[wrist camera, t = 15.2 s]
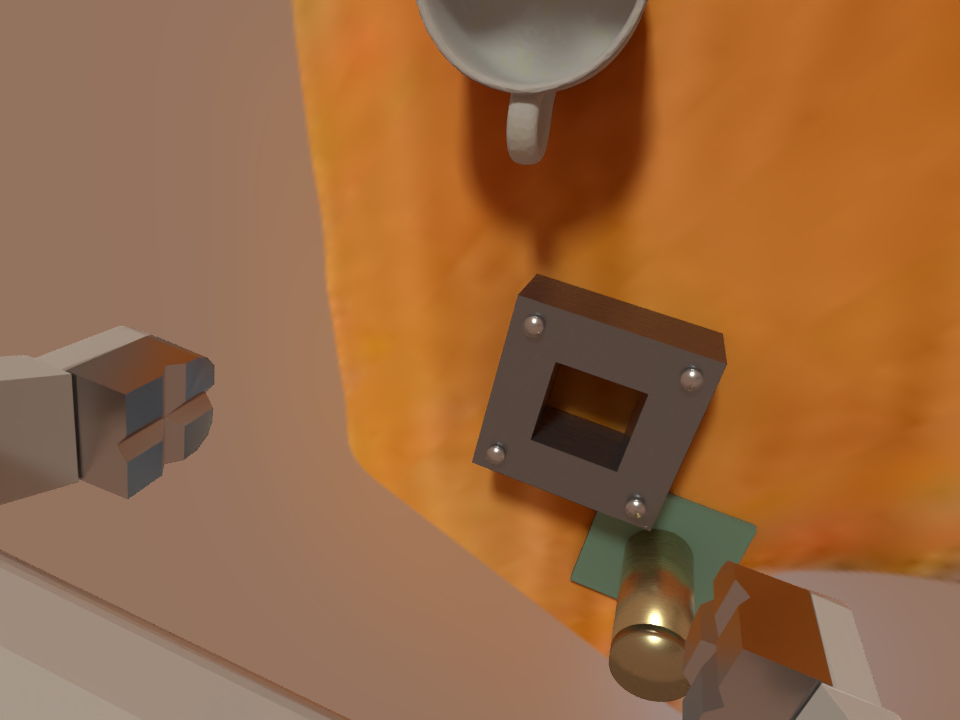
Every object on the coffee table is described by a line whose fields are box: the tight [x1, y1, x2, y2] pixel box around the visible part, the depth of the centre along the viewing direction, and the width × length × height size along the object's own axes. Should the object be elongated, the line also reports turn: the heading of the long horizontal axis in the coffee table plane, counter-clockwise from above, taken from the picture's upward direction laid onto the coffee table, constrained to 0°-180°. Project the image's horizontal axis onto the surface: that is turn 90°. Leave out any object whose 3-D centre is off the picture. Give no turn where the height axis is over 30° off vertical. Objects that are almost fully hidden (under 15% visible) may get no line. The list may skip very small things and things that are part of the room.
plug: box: [609, 529, 695, 702], centre depth 40 cm, size 5×5×10 cm
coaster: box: [570, 493, 757, 615], centre depth 45 cm, size 10×10×1 cm
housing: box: [472, 274, 727, 531], centre depth 39 cm, size 12×12×6 cm
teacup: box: [416, 0, 647, 165], centre depth 31 cm, size 14×11×8 cm
